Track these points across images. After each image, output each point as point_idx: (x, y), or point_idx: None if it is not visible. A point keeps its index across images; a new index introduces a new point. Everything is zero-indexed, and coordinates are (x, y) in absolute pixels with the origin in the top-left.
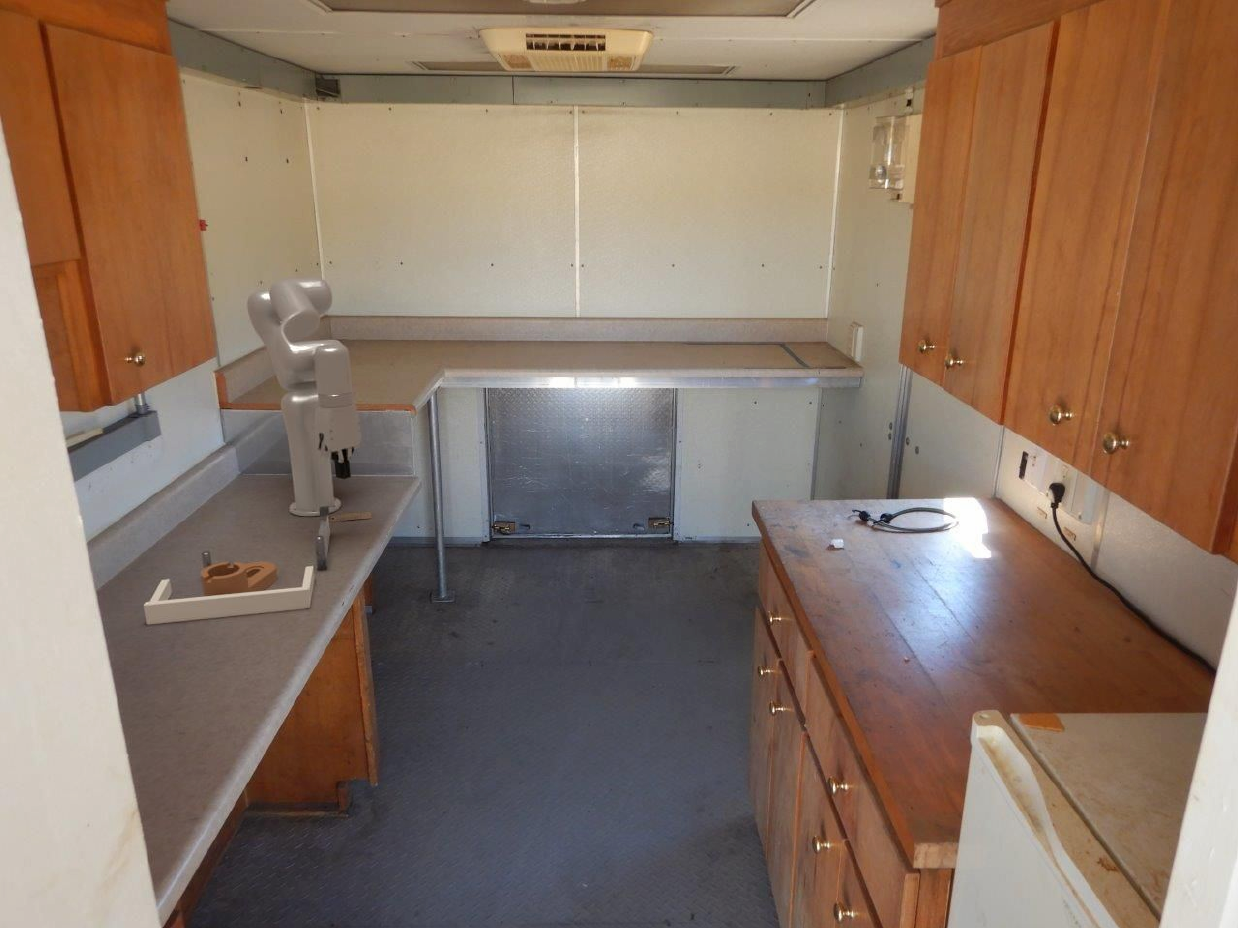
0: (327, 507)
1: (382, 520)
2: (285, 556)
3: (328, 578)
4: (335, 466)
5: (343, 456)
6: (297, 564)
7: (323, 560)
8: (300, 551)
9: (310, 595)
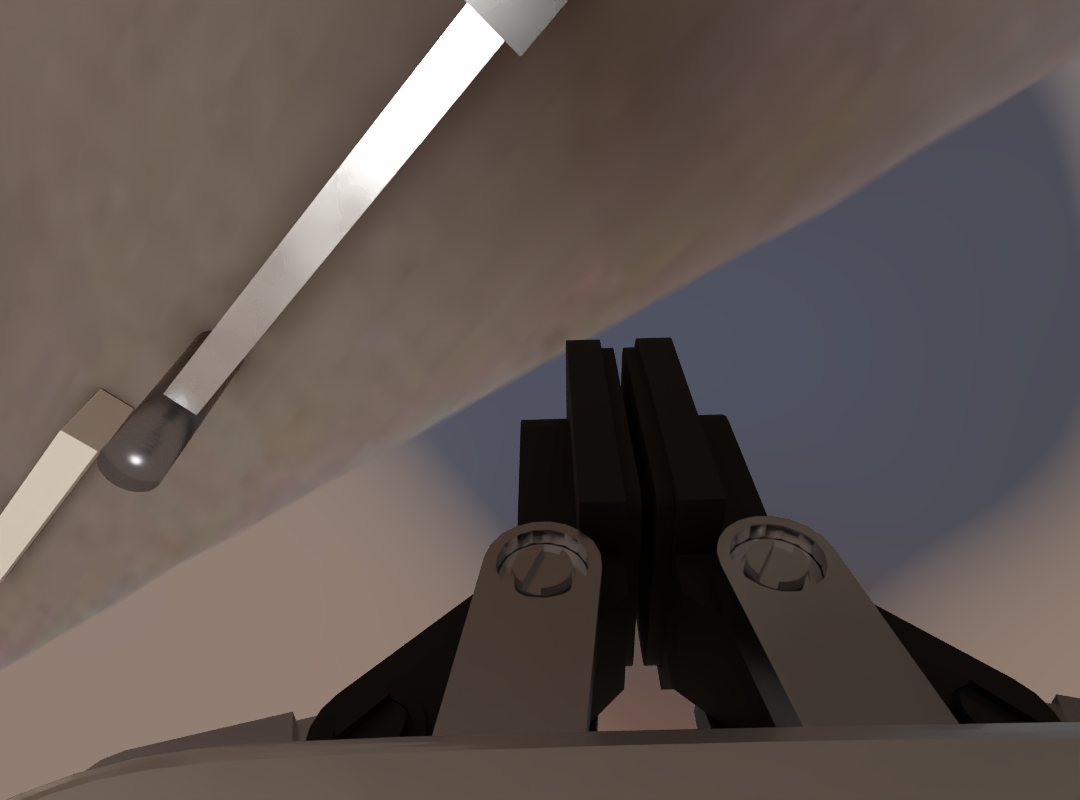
0: (544, 10)
1: (998, 56)
2: (122, 5)
3: (189, 449)
4: (520, 509)
5: (717, 667)
6: (136, 193)
7: None
8: (245, 22)
9: (19, 557)
